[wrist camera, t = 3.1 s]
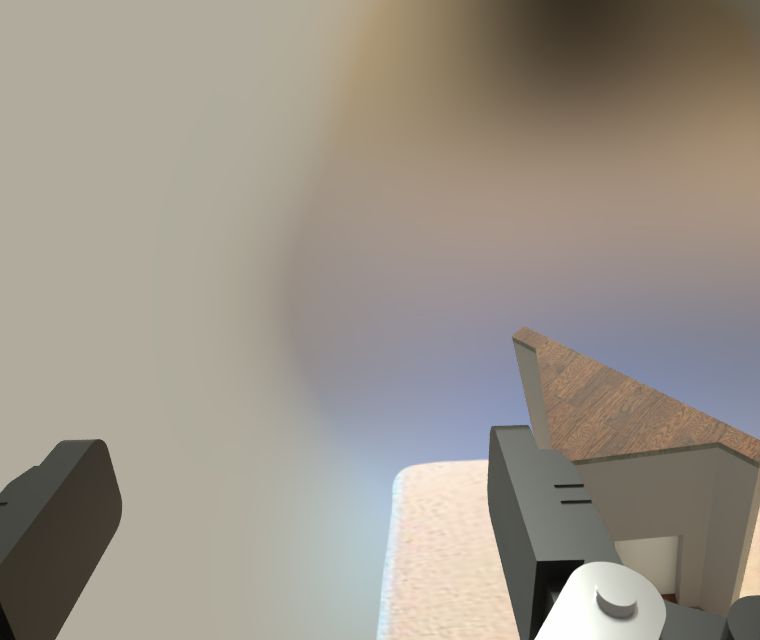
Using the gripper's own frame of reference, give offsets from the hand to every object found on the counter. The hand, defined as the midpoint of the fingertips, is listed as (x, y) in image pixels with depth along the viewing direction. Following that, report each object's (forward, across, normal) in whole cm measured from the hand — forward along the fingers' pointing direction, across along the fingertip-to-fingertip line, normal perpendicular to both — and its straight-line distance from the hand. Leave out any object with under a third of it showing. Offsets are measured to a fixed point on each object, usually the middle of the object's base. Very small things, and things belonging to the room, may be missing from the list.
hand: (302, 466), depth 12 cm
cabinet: (+35, +24, -43) cm, 61 cm away
